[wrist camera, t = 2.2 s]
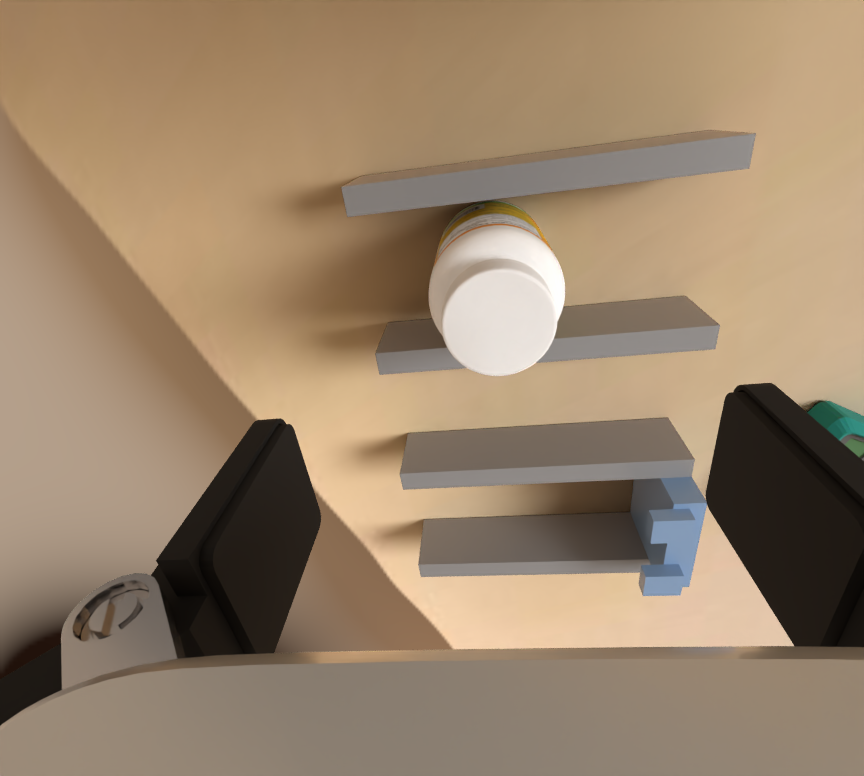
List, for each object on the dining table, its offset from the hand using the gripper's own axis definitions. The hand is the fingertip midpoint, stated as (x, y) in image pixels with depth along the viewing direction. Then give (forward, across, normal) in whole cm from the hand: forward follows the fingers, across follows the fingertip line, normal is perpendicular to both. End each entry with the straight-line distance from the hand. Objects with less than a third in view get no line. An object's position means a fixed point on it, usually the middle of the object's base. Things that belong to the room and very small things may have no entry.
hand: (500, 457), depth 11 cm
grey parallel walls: (+16, -2, +7) cm, 18 cm away
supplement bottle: (+17, 0, 0) cm, 17 cm away
